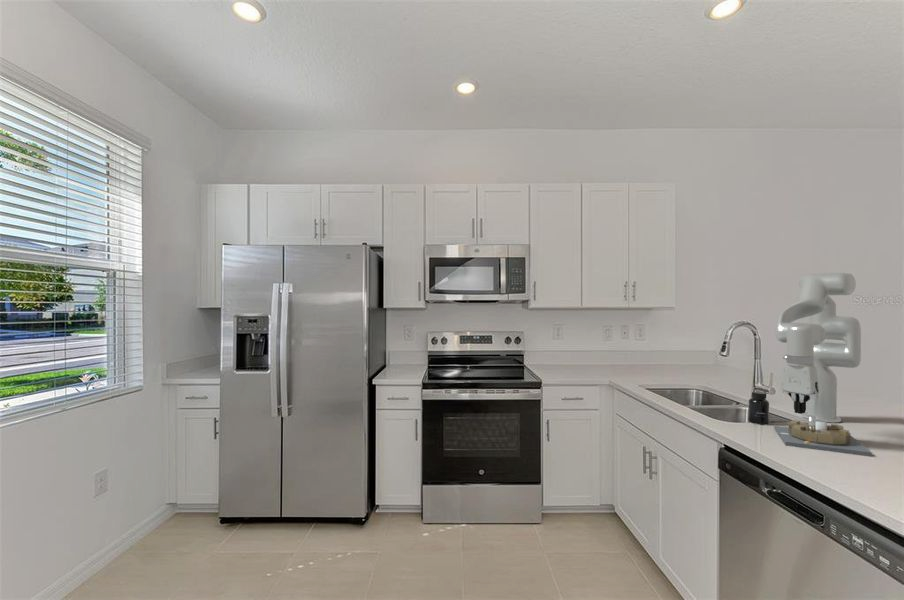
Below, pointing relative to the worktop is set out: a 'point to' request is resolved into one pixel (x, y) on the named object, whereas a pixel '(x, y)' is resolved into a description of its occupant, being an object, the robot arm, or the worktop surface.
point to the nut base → (849, 448)
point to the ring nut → (819, 432)
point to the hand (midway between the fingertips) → (799, 412)
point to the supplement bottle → (758, 409)
